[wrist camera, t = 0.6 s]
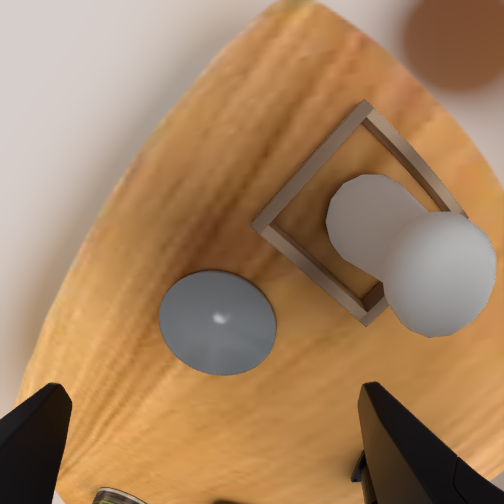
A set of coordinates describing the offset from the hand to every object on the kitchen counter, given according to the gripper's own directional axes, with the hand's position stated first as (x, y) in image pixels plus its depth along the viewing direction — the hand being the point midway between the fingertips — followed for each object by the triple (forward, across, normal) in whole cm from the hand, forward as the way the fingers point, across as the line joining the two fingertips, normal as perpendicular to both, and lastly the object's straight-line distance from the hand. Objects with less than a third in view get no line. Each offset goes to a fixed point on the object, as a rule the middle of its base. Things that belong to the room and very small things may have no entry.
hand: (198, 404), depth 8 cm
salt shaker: (+15, -9, 0) cm, 17 cm away
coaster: (+14, +2, +8) cm, 16 cm away
